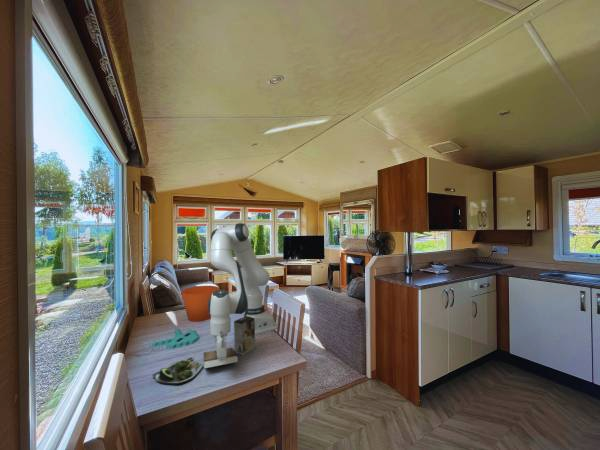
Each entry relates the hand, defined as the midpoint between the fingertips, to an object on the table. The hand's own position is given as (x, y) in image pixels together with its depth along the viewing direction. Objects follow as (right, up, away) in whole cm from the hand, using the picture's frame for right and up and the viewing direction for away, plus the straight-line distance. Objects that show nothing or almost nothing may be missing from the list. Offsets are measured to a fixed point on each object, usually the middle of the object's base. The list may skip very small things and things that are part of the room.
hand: (220, 359), depth 113 cm
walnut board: (-4, -6, +11) cm, 13 cm away
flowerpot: (-35, -6, +67) cm, 76 cm away
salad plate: (-18, -6, -2) cm, 19 cm away
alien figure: (-33, -7, +32) cm, 46 cm away
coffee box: (+7, -6, +20) cm, 21 cm away
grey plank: (-1, -4, +2) cm, 4 cm away
